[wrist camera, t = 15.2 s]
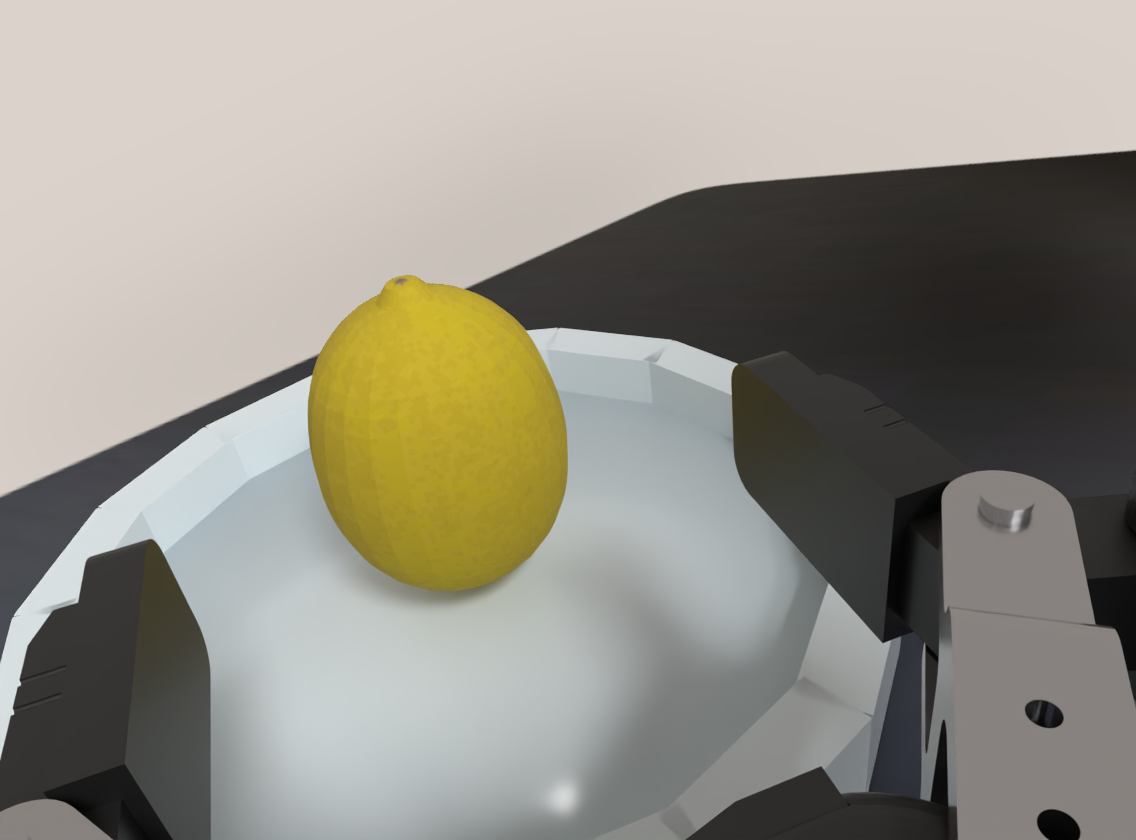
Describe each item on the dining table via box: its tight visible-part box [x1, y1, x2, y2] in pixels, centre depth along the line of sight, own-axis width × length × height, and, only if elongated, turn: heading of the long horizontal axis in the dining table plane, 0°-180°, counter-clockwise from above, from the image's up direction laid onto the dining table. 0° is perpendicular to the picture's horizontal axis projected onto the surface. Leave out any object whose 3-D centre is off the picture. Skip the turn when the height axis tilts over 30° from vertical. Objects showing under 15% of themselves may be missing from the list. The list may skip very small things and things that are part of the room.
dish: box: [0, 328, 901, 840], centre depth 22 cm, size 20×20×2 cm
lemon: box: [308, 275, 568, 591], centre depth 20 cm, size 6×6×8 cm
